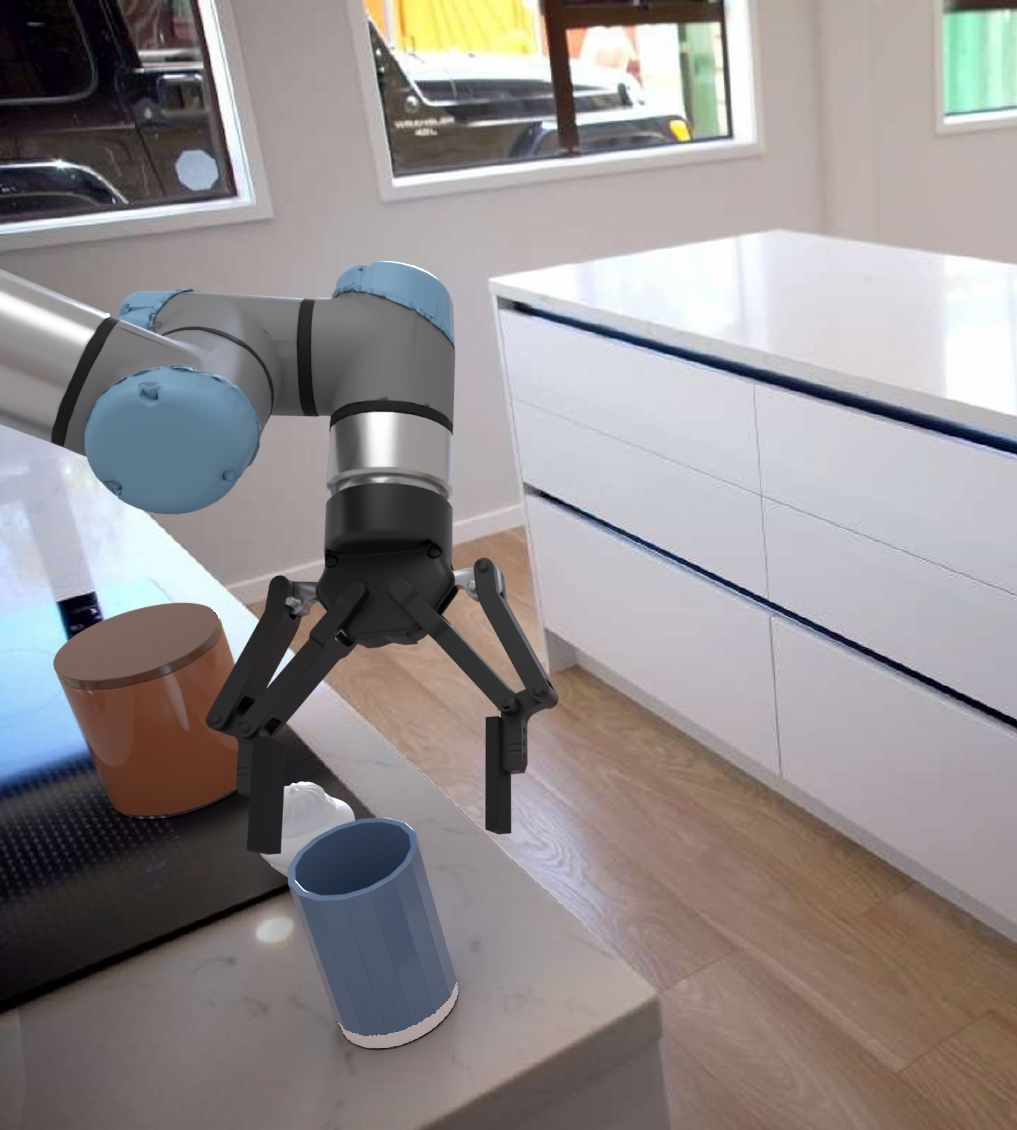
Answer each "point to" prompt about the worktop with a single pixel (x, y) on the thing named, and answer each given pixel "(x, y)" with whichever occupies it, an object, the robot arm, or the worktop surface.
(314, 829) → the muffin
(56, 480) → the worktop surface
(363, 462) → the robot arm
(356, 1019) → the cup
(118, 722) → the canister
